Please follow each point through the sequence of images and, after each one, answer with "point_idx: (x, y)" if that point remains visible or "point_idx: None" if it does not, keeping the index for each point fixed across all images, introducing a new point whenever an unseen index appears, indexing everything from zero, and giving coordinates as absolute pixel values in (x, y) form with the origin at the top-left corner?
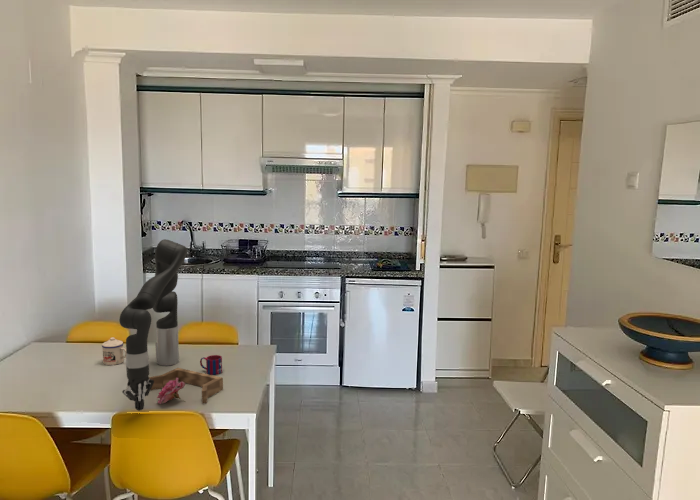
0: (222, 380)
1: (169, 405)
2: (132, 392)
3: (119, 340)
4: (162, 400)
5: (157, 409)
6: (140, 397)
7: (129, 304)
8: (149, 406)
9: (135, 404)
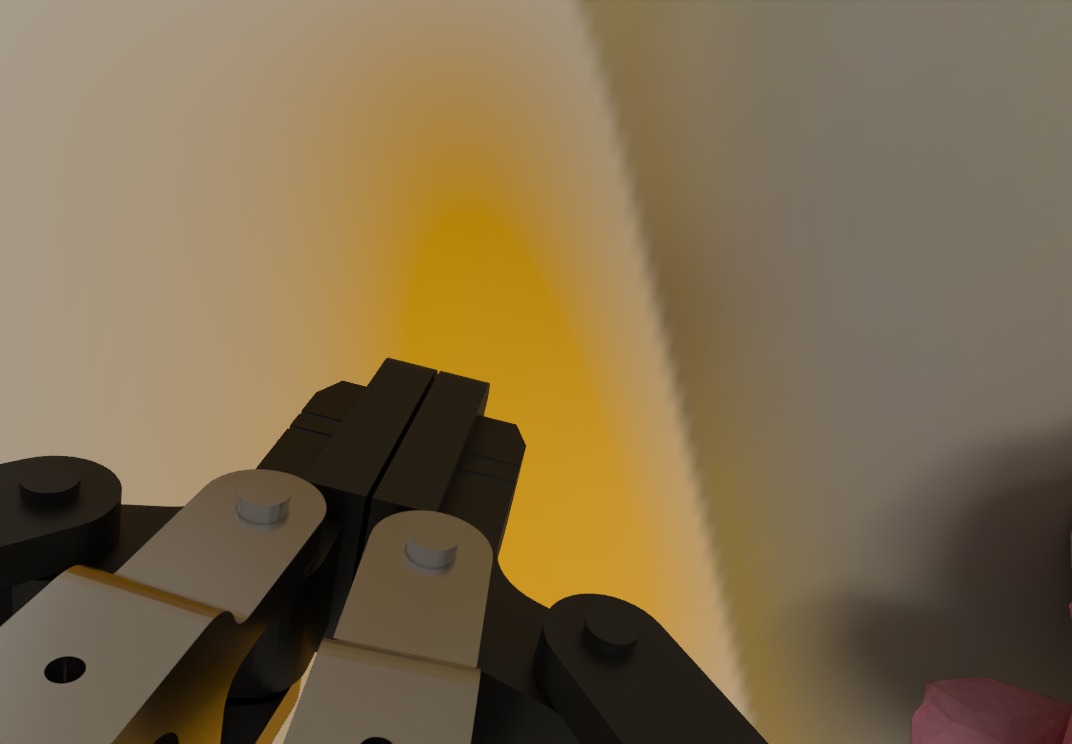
0: None
1: None
2: (34, 630)
3: None
4: (946, 738)
5: (775, 578)
6: (253, 739)
7: None
8: (905, 348)
9: (274, 458)
